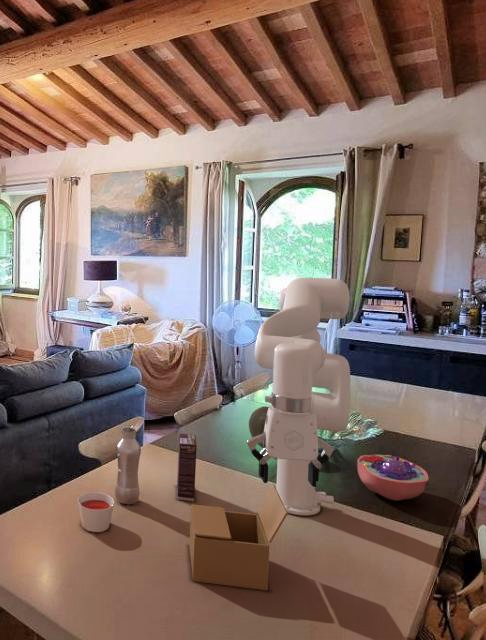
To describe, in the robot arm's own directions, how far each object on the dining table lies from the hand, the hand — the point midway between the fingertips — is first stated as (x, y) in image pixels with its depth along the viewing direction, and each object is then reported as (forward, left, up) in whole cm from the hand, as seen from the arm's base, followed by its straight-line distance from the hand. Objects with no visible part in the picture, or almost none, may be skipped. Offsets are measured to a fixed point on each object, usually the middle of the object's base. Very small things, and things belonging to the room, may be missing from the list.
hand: (287, 482), depth 111 cm
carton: (+12, 0, -20) cm, 23 cm away
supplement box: (+19, -33, -20) cm, 43 cm away
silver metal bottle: (+35, -25, -20) cm, 48 cm away
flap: (+3, 0, -7) cm, 7 cm away
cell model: (-38, -45, -20) cm, 62 cm away
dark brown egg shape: (-11, -72, -20) cm, 76 cm away
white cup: (+42, -11, -20) cm, 48 cm away
